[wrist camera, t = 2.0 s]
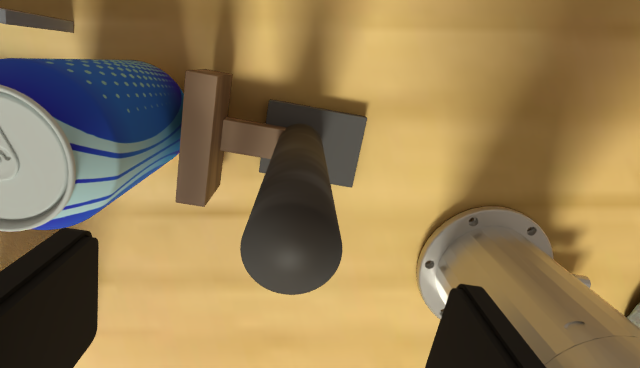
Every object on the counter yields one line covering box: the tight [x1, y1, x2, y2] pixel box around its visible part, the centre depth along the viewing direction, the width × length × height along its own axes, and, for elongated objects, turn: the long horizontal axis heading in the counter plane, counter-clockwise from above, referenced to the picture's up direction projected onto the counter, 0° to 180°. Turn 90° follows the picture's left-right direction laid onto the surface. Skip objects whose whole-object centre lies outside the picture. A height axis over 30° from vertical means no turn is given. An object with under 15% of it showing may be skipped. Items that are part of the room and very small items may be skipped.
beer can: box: [0, 58, 184, 232], centre depth 24 cm, size 8×8×16 cm
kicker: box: [176, 69, 342, 295], centre depth 22 cm, size 10×9×19 cm
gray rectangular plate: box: [259, 99, 367, 187], centre depth 32 cm, size 8×6×1 cm
